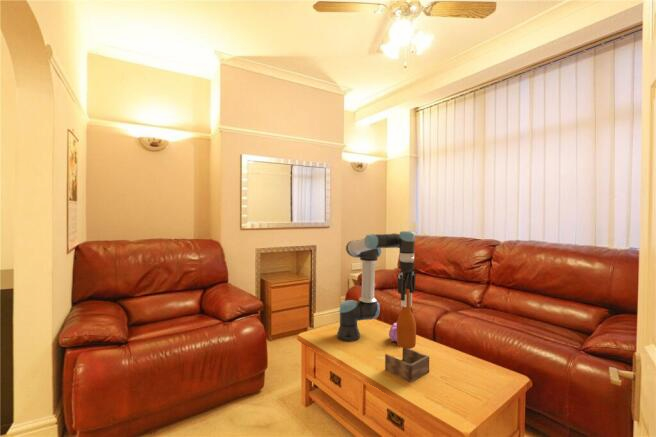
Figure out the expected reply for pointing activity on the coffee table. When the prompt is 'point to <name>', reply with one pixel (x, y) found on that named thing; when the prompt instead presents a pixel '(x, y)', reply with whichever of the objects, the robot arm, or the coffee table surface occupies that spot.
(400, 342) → the wine bottle
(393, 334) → the teapot
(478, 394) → the coffee table surface
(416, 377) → the wooden box
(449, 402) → the coffee table surface
